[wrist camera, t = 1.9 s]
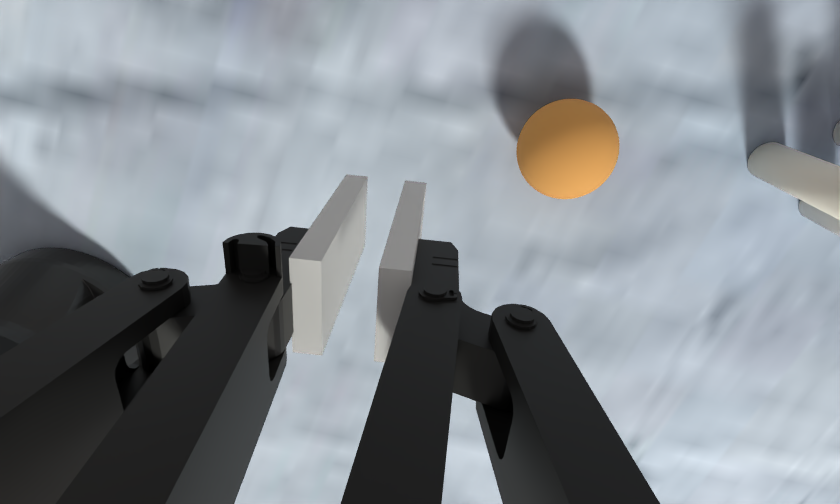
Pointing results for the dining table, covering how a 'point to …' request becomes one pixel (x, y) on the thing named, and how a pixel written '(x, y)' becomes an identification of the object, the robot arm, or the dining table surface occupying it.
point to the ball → (567, 148)
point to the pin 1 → (820, 217)
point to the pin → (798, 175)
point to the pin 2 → (837, 134)
